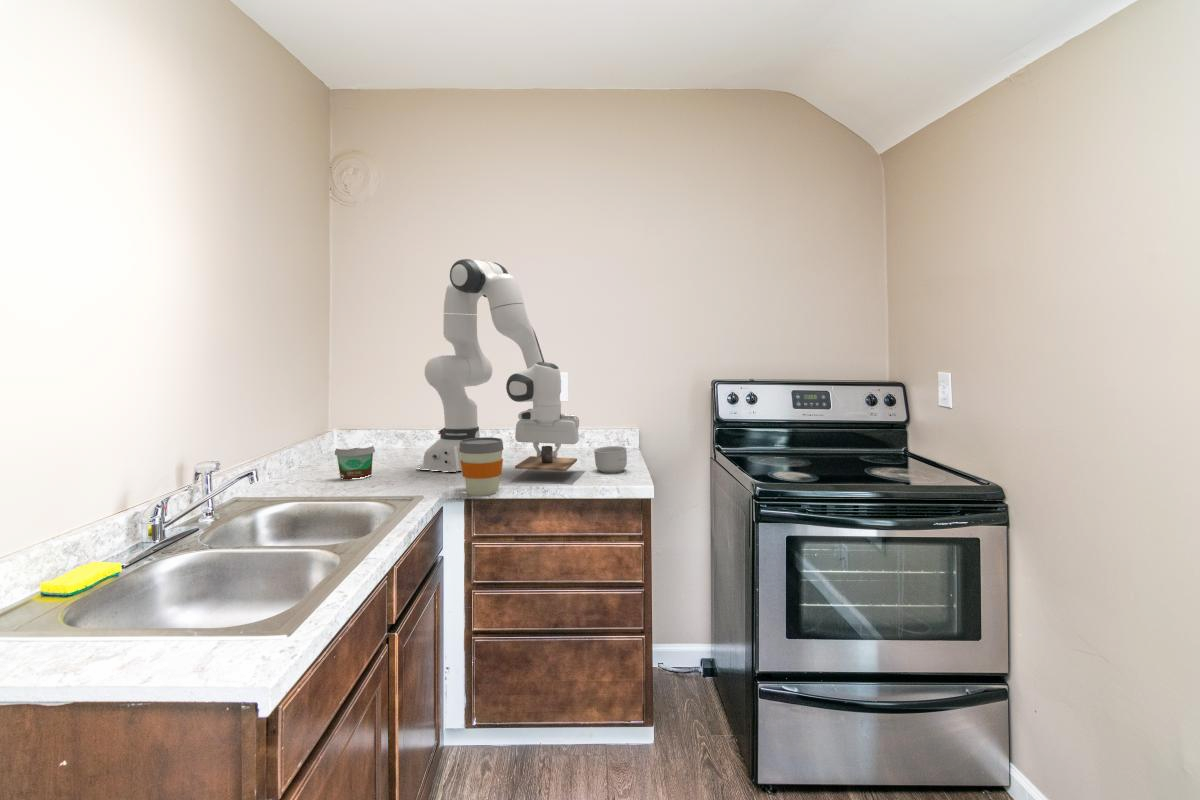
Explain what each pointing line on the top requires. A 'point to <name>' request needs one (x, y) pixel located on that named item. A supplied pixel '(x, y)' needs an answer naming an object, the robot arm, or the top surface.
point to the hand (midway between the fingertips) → (547, 456)
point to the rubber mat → (548, 477)
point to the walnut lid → (546, 461)
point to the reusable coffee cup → (481, 464)
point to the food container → (355, 462)
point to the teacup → (611, 459)
